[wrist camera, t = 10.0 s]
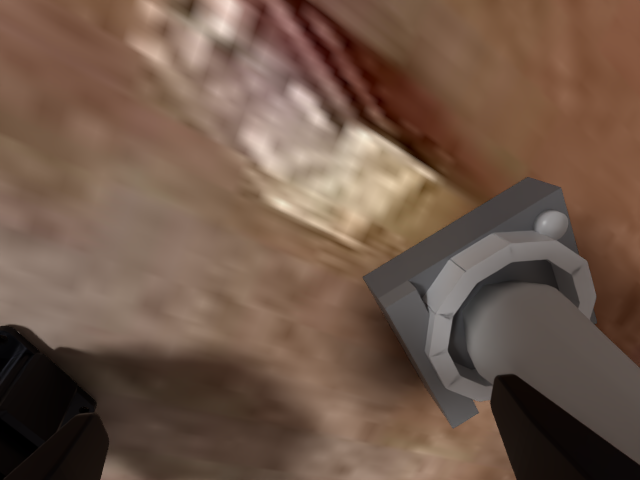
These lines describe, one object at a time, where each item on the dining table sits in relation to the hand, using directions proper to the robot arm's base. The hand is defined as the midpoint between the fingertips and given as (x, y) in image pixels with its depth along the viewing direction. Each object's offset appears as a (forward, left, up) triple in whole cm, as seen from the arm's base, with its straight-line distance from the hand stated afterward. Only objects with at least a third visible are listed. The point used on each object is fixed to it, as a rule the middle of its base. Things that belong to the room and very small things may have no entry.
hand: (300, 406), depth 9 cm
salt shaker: (+9, -11, -10) cm, 17 cm away
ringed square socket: (+9, -11, -13) cm, 19 cm away
